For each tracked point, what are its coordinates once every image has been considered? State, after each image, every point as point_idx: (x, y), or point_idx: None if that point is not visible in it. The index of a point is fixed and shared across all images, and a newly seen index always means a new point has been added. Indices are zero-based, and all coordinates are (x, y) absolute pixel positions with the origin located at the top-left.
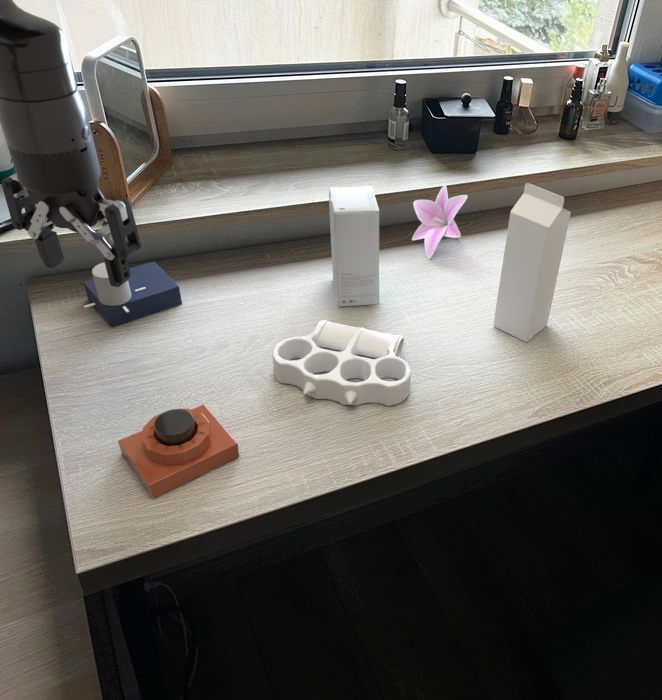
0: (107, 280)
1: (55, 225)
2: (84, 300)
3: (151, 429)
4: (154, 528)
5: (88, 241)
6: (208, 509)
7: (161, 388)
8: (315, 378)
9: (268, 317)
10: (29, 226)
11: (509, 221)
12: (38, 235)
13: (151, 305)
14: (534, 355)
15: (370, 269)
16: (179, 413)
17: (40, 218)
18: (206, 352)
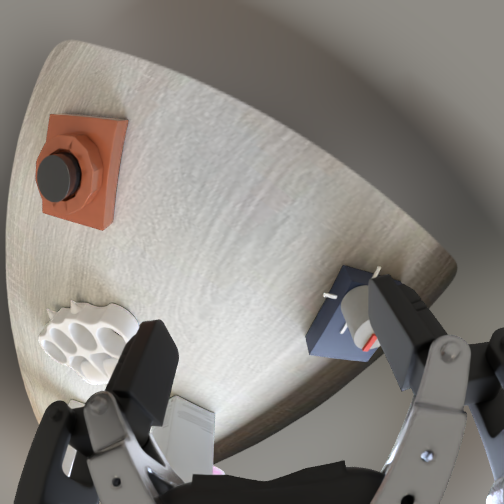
0: (362, 318)
1: (341, 467)
2: (403, 278)
3: (77, 155)
4: (42, 98)
5: (120, 448)
6: (29, 146)
7: (191, 223)
8: (66, 319)
9: (210, 364)
10: (474, 367)
11: (68, 475)
12: (427, 363)
13: (322, 317)
14: (59, 391)
15: (153, 434)
16: (58, 192)
17: (408, 482)
18: (208, 298)
